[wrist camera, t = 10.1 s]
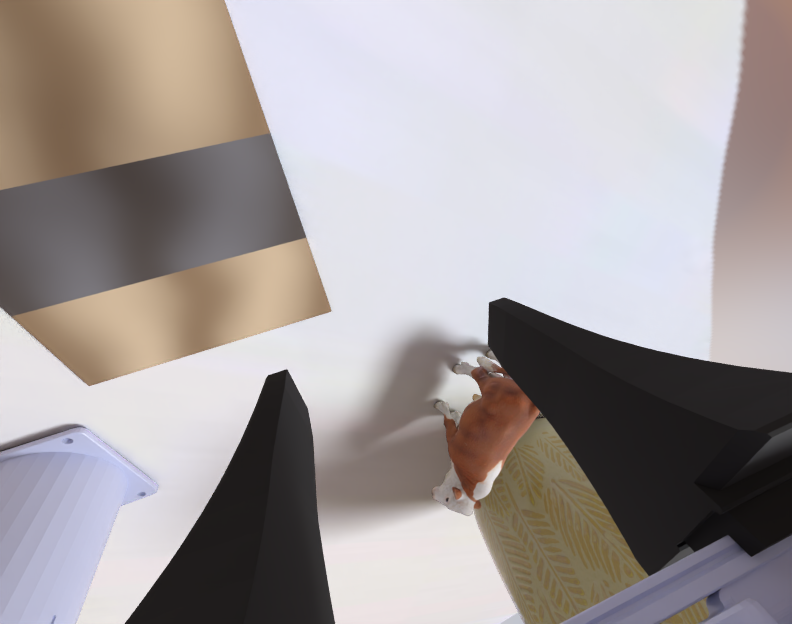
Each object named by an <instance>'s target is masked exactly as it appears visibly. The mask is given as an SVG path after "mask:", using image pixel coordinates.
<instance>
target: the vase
mask: <svg viewBox="0 0 792 624" xmlns="http://www.w3.org/2000/svg"><path fill="white" fill-rule="evenodd" d="M479 501H480V502H481V508H480V509H473V510H474V515H475V518H476V522H477V524H478V527H479V530H480V532H481V534H482V537H483V539H484V541H485V544H486V546H487V548H488V551H489V553H490V555H491V557H492V559H493V562H494V564H495V566H496V568H497V570H498V572H499V574H500V577H501V579H502V581H503V583H504V585H505V587H506V589H507V591H508V593H509V595H510V597H511V599H512V601H513V603H514V605H515V607H516V609H517V611H518V613H519V614H520V617H521V619H522V620H523V623H524V624H560V623H562V622H564V621H566V620H568V619H570V618H571V617H573V616H575V615H577V614H579V613H581V612H583V611H585V610H587V609H589V608H590V607H592V606H594V605H596V604H598V603H600V602H602V601H604V600H606V599H607V598H609V597H611V596H613V595H615V594H617V593H619V592H621V591H623V590H624V589H626V588H628V587H630V586H632V585H634V584H636V583H638V582H640V581H642V580H643V579H645V578H647V577H649V576H648V574H647V573H646V572H645V571H644V569H643V568H642V567H641V565H640V564H639V563H638V562H637V560H636V559H635V557H634V555H633V554H632V552H631V550H630V548H629V546H628V544H627V543H626V541H625V539H624V537H623V536H622V534H621V532H620V531H619V529H618V527H617V526H616V524H615V522H614V520H613V519H612V517H611V515H610V514H609V512H608V510H607V508H606V507H605V505H604V504H603V502H602V500H601V499H600V497H599V496H598V494H597V492H596V491H595V489H594V488H593V486H592V484H591V483H590V481H589V480H588V478H587V476H586V475H585V473H584V472H583V470H582V469H581V467H580V466H579V464H578V463H577V461H576V460H575V458H574V457H573V455H572V454H571V452H570V451H569V449H568V448H567V447H566V445H565V444H564V442H563V441H562V440H561V438H560V437H559V435H558V434H557V432H556V431H555V430H554V428H553V427H552V425H551V424H550V423H549V422H548V420H547V419H546V418H539V419H535V420H534V421H533V423H532V424H531V426H530V427H529V429H528V430H527V431H526V432H525V434H524V435H523V436H522V437H521V438H520V439H519V440H518V442H517V443H516V444H515V446H514V447H513V449H512V450H511V452H510V453H509V454H508V456H507V458H506V460H505V462H504V465H503V468H502V470H501V472H500V473H499V475H498V476H497V477H496V478H495V480H494V482H493V485H492V488H491V491H490V492H489V494H488V495H487V496H486V497H484V498H482V499H479ZM706 599H707V597H706V598H704V599H703V600H701V601H699V602H697V603H695V604H694V605H692V606H690V607H688V608H686V609H685V610H683V611H681V612H679V613H678V614H676V615H674V616H672V617H670V618H669V619H667V620H665V621H663V622H661V623H660V624H698V623H700V622H701V621H703V620H705V619H707V618H708V616H709V611H708V609H707V606H706Z"/></svg>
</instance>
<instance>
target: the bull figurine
mask: <svg viewBox="0 0 792 624" xmlns="http://www.w3.org/2000/svg"><path fill="white" fill-rule="evenodd" d="M486 357H487V358H490V359H493V360H496V361H497V362H498V363H499V361H498V360H497V358H496V357H495V355H494V354H493V352H492V350H489V351H488V352H487V354H486ZM487 358H485V357H478V358H477V362H478V363H479V365H480V367H473V366H471V365H469V363H467V362H461V365H455V366H454V368H453V372H454V373H456V374H466V375H469V376H471V377H472V378H473V379H475V381H476V382H477V383H478V385H479V388H480V391H481V394H482V396H480V395H477V394H474V395H473V400H474V401H473V402H471V403H470V404H469V405H468V406H467V407H466V408H465V410H464V412H463V414H462V416H461V414H460V412H457V411H455V412H451V413H450V411H449V404H448V403H447V402H446V403H445V402H444V401H442V402H437V403H436V404H435V405H434V407H435V408H436V409H438V410H440V411H441V412H442V413H443V414H444V425H445V427H446V438H447V442H448V452H449V456H450V458H451V460H450V461H451V469H450V470H449V471H448V472H447V474H446V475H445V479H444V482H443V484H442V485H441V486H435V487H434V488H433V489H432V495H433V497H432V498H433V499H435V500H436V501H438V502H440V503H442V504H443V505H445V506H446V507H447V508H448V509H450V510H452V511H455V512H458V513H461V514H463V515H466V516H470V515H471V514H472V513H473V509H480V508H481V502H480V501H479V499H482V498H484V497H486V496H487V495H488V494H489V492H490V491H491V488H492V485H493V482H494V480H495V478H496V477H497V476H498V475H499V473H500V472H501V470H502V468H503V465H504V462H505V460H506V458H507V456H508V454H509V453H510V452H511V450H512V449H513V447H514V446H515V444H516V443H517V442H518V440H519V439H520V438H521V437H522V436H523V435H524V434H525V432H526V431H527V430H528V429H529V427H530V426H531V424H532V423H533V421H534V420H535V419H536V417H537V416H538V414H539V413H540V411H539V410H538V408H537V407H536V406H535V405H534V404H533V403H532V401H531V400H530V399H529V398H528V397H527V396H526V394H525V393H524V392H523V391H522V390H521V389H520V387H519V386H518V385H517V384H516V383H515V382H514V380H513V379H512V378H511V377H510V376H509V375H508V373H507V372H506V371H505V370H504V369H503V367H502V366H501V367H502V368H501V367H499V366H498V365H496V364H495V363H493V362H492V361H490V360H489V359H487ZM499 364H500V363H499ZM500 365H501V364H500ZM489 372H492V373H489ZM497 373H502V374H503V376H504V378H503V377H502V376H501V375H499V374H497ZM455 422H456V423H458V426H457V427H456V424H455Z"/></svg>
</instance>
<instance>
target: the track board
mask: <svg viewBox="0 0 792 624" xmlns="http://www.w3.org/2000/svg"><path fill="white" fill-rule="evenodd" d="M0 307H2V308H3V309H4V310H5V311H6V312H7V313H8V314H9V315H10V316H12V317H13V318H14V319H15V320H16V321H17V322H18V323H19V324H20V325H22V326H23V327H24V328H25V329H26V330H27V331H28V332H29V333H30V334H32V335H33V336H34V337H35V338H36V339H37V340H38V341H39V342H40V343H42V344H43V345H44V346H45V347H46V348H47V349H48V350H49V351H51V352H52V353H53V354H54V355H55V356H56V357H57V358H58V359H59V360H61V361H62V362H63V363H64V364H65V365H66V366H67V367H68V368H69V369H71V370H72V371H73V372H74V373H75V374H76V375H77V376H78V377H79V378H81V379H82V380H83V381H84V382H85V383H86V384H87V385H88V386H91V385H94V384H98V383H101V382H104V381H107V380H111V379H114V378H117V377H120V376H124V375H127V374H130V373H133V372H137V371H140V370H143V369H146V368H150V367H153V366H156V365H159V364H163V363H166V362H169V361H172V360H176V359H179V358H182V357H185V356H188V355H192V354H195V353H198V352H201V351H205V350H208V349H211V348H214V347H218V346H221V345H224V344H227V343H231V342H234V341H237V340H240V339H244V338H247V337H250V336H253V335H257V334H260V333H263V332H266V331H270V330H273V329H276V328H279V327H283V326H286V325H289V324H292V323H296V322H299V321H302V320H305V319H309V318H312V317H315V316H318V315H321V314H325V313H328V312H331V308H330V305H329V302H328V299H327V296H326V293H325V290H324V288H323V285H322V282H321V279H320V276H319V273H318V270H317V267H316V264H315V261H314V259H313V256H312V253H311V250H310V247H309V244H308V241H307V238H306V235H305V232H304V230H303V227H302V224H301V221H300V218H299V215H298V212H297V209H296V206H295V203H294V201H293V198H292V195H291V192H290V189H289V186H288V183H287V180H286V177H285V174H284V172H283V169H282V166H281V163H280V160H279V157H278V154H277V151H276V148H275V146H274V143H273V140H272V137H271V134H270V131H269V128H268V125H267V122H266V119H265V117H264V114H263V111H262V108H261V105H260V102H259V99H258V96H257V93H256V90H255V88H254V85H253V82H252V79H251V76H250V73H249V70H248V67H247V64H246V61H245V59H244V56H243V53H242V50H241V47H240V44H239V41H238V38H237V35H236V32H235V30H234V27H233V24H232V21H231V18H230V15H229V12H228V9H227V6H226V3H225V1H224V0H0Z"/></svg>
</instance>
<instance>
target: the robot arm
mask: <svg viewBox="0 0 792 624" xmlns="http://www.w3.org/2000/svg"><path fill="white" fill-rule="evenodd" d="M488 346H489V347H490V349H491V350H492V352H493V354H494V355H495V357H496V358H497V360H498V361H499V363H500V364H501V366H502V367H503V369H504V370H505V371H506V372H507V373H508V375H509V376H510V377H511V378H512V379H513V380H514V382H515V383H516V384H517V385H518V386H519V387H520V389H521V390H522V391H523V392H524V393H525V394H526V396H527V397H528V398H529V399H530V400H531V401H532V403H533V404H534V405H535V406H536V407H537V408H538V410H539V411H540V412H541V413H542V414H543V415H544V417H545V418H546V419H547V420H548V422H549V423H550V424H551V425H552V427H553V428H554V430H555V431H556V432H557V434H558V435H559V437H560V438H561V440H562V441H563V442H564V444H565V445H566V447H567V448H568V449H569V451H570V452H571V454H572V455H573V457H574V458H575V460H576V461H577V463H578V464H579V466H580V467H581V469H582V470H583V472H584V473H585V475H586V476H587V478H588V480H589V481H590V483H591V484H592V486H593V488H594V489H595V491H596V492H597V494H598V496H599V497H600V499H601V500H602V502H603V504H604V505H605V507H606V508H607V510H608V512H609V514H610V515H611V517H612V519H613V520H614V522H615V524H616V526H617V527H618V529H619V531H620V532H621V534H622V536H623V537H624V539H625V541H626V543H627V544H628V546H629V548H630V550H631V552H632V554H633V555H634V557H635V559H636V560H637V562H638V563H639V564H640V565H641V567H642V568H643V569H644V571H645V572H646V573H647V574H648V576H649V577H647V578H645V579H643V580H642V581H640V582H638V583H636V584H634V585H632V586H630V587H628V588H626V589H624V590H623V591H621V592H619V593H617V594H615V595H613V596H611V597H609V598H607V599H606V600H604V601H602V602H600V603H598V604H596V605H594V606H592V607H590V608H589V609H587V610H585V611H583V612H581V613H579V614H577V615H575V616H573V617H571V618H570V619H568V620H566V621H564V622H562V623H560V624H660V623H661V622H663V621H665V620H667V619H669V618H670V617H672V616H674V615H676V614H678V613H679V612H681V611H683V610H685V609H686V608H688V607H690V606H692V605H694V604H695V603H697V602H699V601H701V600H703V599H704V598H706V597H707V599H706V606H707V609H708V611H709V616H708V618H707V619H705V620H703V621H701V622H700V623H698V624H792V373H789V372H780V371H773V370H764V369H756V368H748V367H740V366H734V365H728V364H722V363H716V362H710V361H704V360H699V359H693V358H688V357H683V356H679V355H674V354H670V353H665V352H661V351H656V350H652V349H648V348H644V347H640V346H636V345H633V344H629V343H626V342H622V341H619V340H615V339H612V338H609V337H606V336H602V335H599V334H597V333H594V332H591V331H588V330H585V329H582V328H579V327H577V326H574V325H571V324H569V323H566V322H564V321H561V320H559V319H556V318H554V317H551V316H549V315H546V314H544V313H541V312H539V311H537V310H534V309H532V308H530V307H527V306H525V305H522V304H520V303H517V302H515V301H512V300H510V299H507V298H501V299H498V300H495V301H492V302H489V324H488ZM157 490H158V484H156V483H155V482H154V481H153V480H151V479H150V478H149V477H148V476H146V475H145V474H144V473H142V472H141V471H140V470H139V469H137V468H136V467H135V466H134V465H132V464H131V463H130V462H128V461H127V460H126V459H125V458H123V457H122V456H121V455H120V454H118V453H117V452H116V451H114V450H113V449H112V448H111V447H109V446H108V445H107V444H106V443H104V442H103V441H102V440H100V439H99V438H98V437H97V436H95V435H94V434H93V433H92V432H90V431H89V430H88V429H86V428H81V427H78V428H73V429H70V430H67V431H64V432H60V433H57V434H54V435H51V436H48V437H45V438H42V439H39V440H36V441H33V442H30V443H27V444H24V445H20V446H17V447H14V448H11V449H8V450H5V451H2V452H0V624H76V623H77V620H78V617H79V615H80V612H81V609H82V607H83V604H84V601H85V599H86V596H87V593H88V591H89V588H90V585H91V583H92V580H93V577H94V575H95V572H96V569H97V567H98V564H99V561H100V559H101V556H102V553H103V551H104V548H105V545H106V543H107V540H108V538H109V535H110V532H111V530H112V527H113V524H114V522H115V519H116V516H117V514H118V511H119V508H120V506H122V505H125V504H128V503H131V502H133V501H136V500H139V499H142V498H144V497H147V496H150V495H152V494H154V493H156V492H157ZM125 624H335V621H334V615H333V610H332V604H331V598H330V593H329V587H328V581H327V575H326V569H325V562H324V556H323V550H322V543H321V537H320V530H319V523H318V513H317V500H316V482H315V464H314V447H313V435H312V429H311V424H310V418H309V413H308V408H307V406H306V404H305V402H304V401H303V399H302V397H301V395H300V393H299V391H298V389H297V387H296V385H295V383H294V381H293V379H292V378H291V376H290V374H289V372H288V370H287V369H286V370H283V371H280V372H277V373H274V374H271V375H268V377H267V378H266V380H265V383H264V386H263V388H262V391H261V394H260V396H259V399H258V401H257V404H256V406H255V409H254V411H253V414H252V416H251V418H250V421H249V423H248V425H247V428H246V430H245V432H244V434H243V437H242V439H241V441H240V443H239V445H238V447H237V449H236V451H235V453H234V455H233V457H232V459H231V461H230V463H229V465H228V467H227V469H226V471H225V473H224V475H223V477H222V479H221V481H220V483H219V484H218V486H217V488H216V490H215V492H214V493H213V495H212V497H211V498H210V500H209V502H208V504H207V505H206V507H205V509H204V510H203V512H202V514H201V515H200V517H199V518H198V520H197V521H196V523H195V525H194V526H193V528H192V529H191V531H190V532H189V534H188V536H187V537H186V539H185V540H184V542H183V543H182V545H181V546H180V548H179V549H178V551H177V552H176V554H175V555H174V557H173V558H172V560H171V561H170V563H169V564H168V565H167V567H166V568H165V570H164V571H163V572H162V574H161V575H160V577H159V578H158V579H157V581H156V582H155V583H154V585H153V586H152V588H151V589H150V590H149V592H148V593H147V595H146V596H145V597H144V599H143V600H142V601H141V603H140V604H139V606H138V607H137V608H136V610H135V611H134V612H133V614H132V615H131V616H130V618H129V619H128V620H127V621H126V623H125Z"/></svg>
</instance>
